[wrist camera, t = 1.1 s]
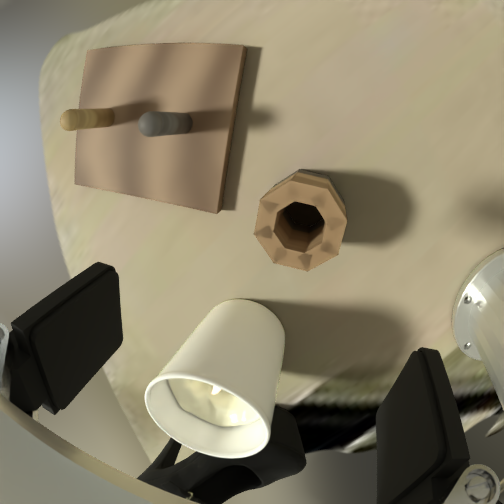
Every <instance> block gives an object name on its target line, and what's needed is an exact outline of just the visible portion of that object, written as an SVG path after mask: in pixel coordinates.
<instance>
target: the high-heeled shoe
mask: <svg viewBox="0 0 504 504" xmlns="http://www.w3.org/2000/svg"><path fill="white" fill-rule="evenodd" d="M181 445H182V444H181V443H179V442H177V441H176V440H174V439H173V438H170V440H169V442H168V443H167V445H166V446H165V447H164V449H163V450H162V452H161V453H160V454H159V456H158V457H157V458H156V459H155V461H154V462H153V463H152V464H151V465H150V466H149V467H148V468H147V469H146V470H145V471H144V472H143V473H142V474H141V475H140V476H139V477H138V478H136V479H138V480H140V481H142V482H145V483H147V484H149V485H152V486H154V487H156V488H159V489H161V490H164V491H166V492H169V493H171V494H174V495H176V496H179V497H182V498H185V499H187V500H190V501H193V502H196V503H199V504H222V503H223V502H225V501H226V500H228V499H230V498H231V497H233V496H235V495H237V494H239V493H241V492H244V491H247V490H251V489H256V488H261V487H264V486H266V485H269V484H271V483H273V482H275V481H277V480H279V479H282V478H285V477H288V476H292V475H295V474H297V473H299V472H300V471H302V470H303V469H304V467H305V466H306V459H305V453H304V449H303V445H302V441H301V437H300V434H299V430H298V427H297V421H296V418H295V417H294V416H293V415H292V414H291V413H289V412H288V411H287V410H285V409H283V408H280V407H278V406H275V408H274V413H273V418H272V424H271V435H270V439H269V441H268V443H267V445H266V446H265V447H264V448H263V449H262V450H261V451H260V452H258V453H256V454H254V455H251V456H248V457H243V458H221V457H215V456H210V455H207V454H203V453H200V452H197V451H196V452H195V453H193V454H192V455H191V456H189V457H188V458H186V459H184V460H183V461H181V462H179V463H177V464H175V461H176V458H177V456H178V453H179V450H180V448H181ZM174 464H175V465H174Z"/></svg>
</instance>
